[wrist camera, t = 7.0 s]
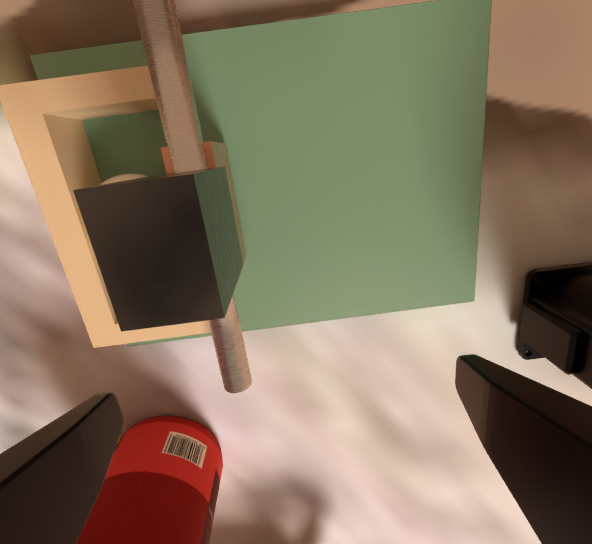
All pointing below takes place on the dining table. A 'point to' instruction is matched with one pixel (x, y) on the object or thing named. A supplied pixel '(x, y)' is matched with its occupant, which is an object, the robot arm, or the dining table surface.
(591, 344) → the robot arm
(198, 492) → the canned food
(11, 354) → the dining table surface
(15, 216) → the dining table surface
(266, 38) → the pitch
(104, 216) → the kicker rod
